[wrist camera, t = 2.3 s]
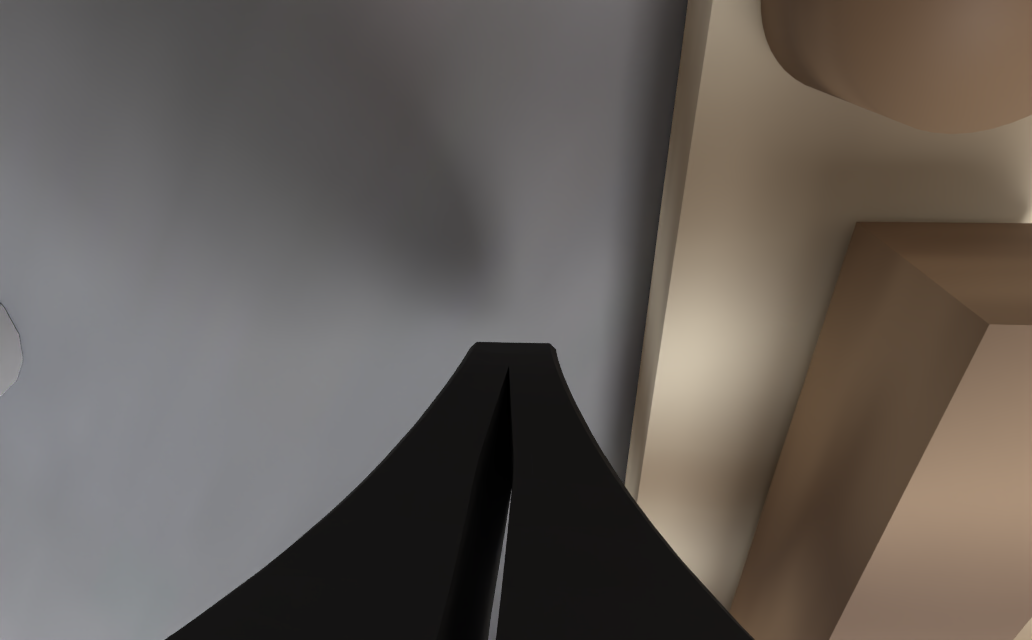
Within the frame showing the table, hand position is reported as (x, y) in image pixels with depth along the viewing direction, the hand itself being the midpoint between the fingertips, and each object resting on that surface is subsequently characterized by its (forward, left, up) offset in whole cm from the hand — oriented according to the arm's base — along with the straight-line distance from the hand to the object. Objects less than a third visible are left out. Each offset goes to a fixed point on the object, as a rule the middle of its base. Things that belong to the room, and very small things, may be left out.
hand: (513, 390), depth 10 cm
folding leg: (-3, -7, -1) cm, 7 cm away
